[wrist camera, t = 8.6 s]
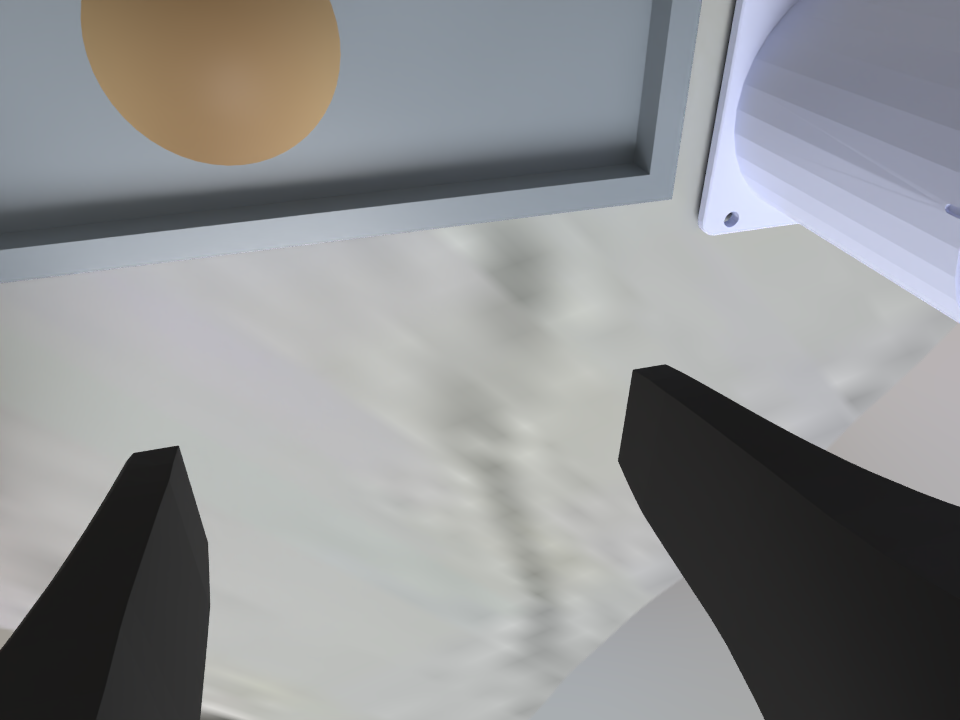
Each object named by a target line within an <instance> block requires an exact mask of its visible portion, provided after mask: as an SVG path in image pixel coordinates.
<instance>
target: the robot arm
mask: <svg viewBox="0 0 960 720" xmlns="http://www.w3.org/2000/svg"><path fill="white" fill-rule="evenodd" d="M731 212H732V215H731V218H730V219H729V220H728V221H726V222H724V220H725V217H726V216H727V215H728V214H729V213H731ZM798 223H799V224H801V225H802V226H804V227H806V228H807V229H809V230H810V231H812V232H814V233H815V234H817V235H818V236H820V237H822V238H823V239H825V240H826V241H828V242H830V243H831V244H833V245H835V246H836V247H838V248H839V249H841V250H843V251H844V252H846V253H847V254H849V255H851V256H852V257H854V258H855V259H857V260H859V261H860V262H862V263H863V264H865V265H867V266H868V267H870V268H871V269H873V270H875V271H876V272H878V273H879V274H881V275H883V276H884V277H886V278H888V279H889V280H891V281H892V282H894V283H896V284H897V285H899V286H900V287H902V288H904V289H905V290H907V291H908V292H910V293H912V294H913V295H915V296H916V297H918V298H920V299H921V300H923V301H924V302H926V303H928V304H929V305H931V306H932V307H934V308H936V309H937V310H939V311H941V312H942V313H944V314H945V315H947V316H949V317H950V318H952V319H953V320H955V321H957V322H958V323H960V0H737V1H736V6H735V12H734V18H733V23H732V29H731V35H730V40H729V46H728V52H727V57H726V63H725V69H724V74H723V80H722V86H721V91H720V97H719V103H718V108H717V114H716V120H715V125H714V131H713V137H712V142H711V148H710V154H709V159H708V165H707V171H706V176H705V182H704V188H703V193H702V199H701V205H700V210H699V216H698V225H699V227H700V229H701V230H703V231H704V232H705V233H707V234H708V235H720V234H727V233H734V232H741V231H748V230H755V229H762V228H770V227H777V226H784V225H791V224H798ZM618 462H619V464H620V467H621V469H622V471H623V473H624V475H625V478H626V480H627V482H628V484H629V487H630V489H631V491H632V493H633V495H634V497H635V499H636V501H637V503H638V505H639V507H640V509H641V511H642V513H643V514H644V516H645V518H646V519H647V521H648V523H649V524H650V526H651V527H652V529H653V530H654V532H655V533H656V535H657V537H658V538H659V540H660V541H661V543H662V544H663V546H664V548H665V549H666V551H667V552H668V554H669V555H670V557H671V558H672V560H673V561H674V563H675V564H676V566H677V567H678V569H679V570H680V572H681V574H682V575H683V577H684V578H685V580H686V581H687V583H688V584H689V586H690V587H691V589H692V590H693V592H694V593H695V595H696V596H697V598H698V599H699V601H700V602H701V604H702V606H703V607H704V609H705V610H706V612H707V613H708V614H709V616H710V618H711V619H712V621H713V623H714V624H715V626H716V628H717V629H718V631H719V633H720V634H721V636H722V638H723V639H724V641H725V643H726V645H727V646H728V648H729V650H730V652H731V654H732V656H733V658H734V660H735V662H736V664H737V666H738V667H739V669H740V671H741V673H742V675H743V677H744V679H745V681H746V683H747V685H748V687H749V689H750V691H751V693H752V694H753V696H754V698H755V700H756V702H757V705H758V707H759V709H760V711H761V713H762V715H763V717H764V719H765V720H960V507H959V506H956V505H953V504H950V503H947V502H944V501H942V500H939V499H936V498H934V497H931V496H928V495H926V494H923V493H920V492H917V491H915V490H913V489H910V488H908V487H906V486H903V485H901V484H899V483H896V482H894V481H891V480H889V479H887V478H884V477H882V476H879V475H877V474H875V473H872V472H870V471H868V470H866V469H863V468H861V467H859V466H857V465H855V464H852V463H850V462H848V461H846V460H844V459H842V458H840V457H838V456H836V455H834V454H832V453H830V452H828V451H826V450H824V449H822V448H820V447H818V446H815V445H813V444H811V443H809V442H807V441H806V440H804V439H802V438H800V437H798V436H796V435H794V434H792V433H790V432H788V431H786V430H785V429H783V428H781V427H779V426H777V425H775V424H773V423H772V422H770V421H768V420H766V419H764V418H763V417H761V416H759V415H757V414H755V413H754V412H752V411H750V410H748V409H746V408H745V407H743V406H741V405H739V404H738V403H736V402H734V401H732V400H731V399H729V398H727V397H725V396H723V395H722V394H720V393H718V392H716V391H715V390H713V389H711V388H709V387H708V386H706V385H704V384H702V383H700V382H699V381H697V380H695V379H693V378H691V377H690V376H688V375H686V374H684V373H682V372H680V371H678V370H676V369H674V368H672V367H670V366H668V365H666V364H665V365H659V366H653V367H647V368H641V369H635V370H633V372H632V378H631V385H630V391H629V397H628V403H627V409H626V415H625V421H624V428H623V434H622V440H621V446H620V452H619V458H618ZM209 613H210V584H209V557H208V541H207V538H206V535H205V531H204V528H203V525H202V521H201V518H200V515H199V511H198V508H197V505H196V501H195V498H194V495H193V492H192V488H191V485H190V482H189V478H188V475H187V472H186V468H185V465H184V462H183V458H182V455H181V452H180V448H179V446H173V447H167V448H161V449H155V450H149V451H143V452H137V453H133V454H132V455H131V457H130V458H129V459H128V460H127V461H126V463H125V465H124V467H123V468H122V470H121V472H120V474H119V475H118V477H117V479H116V480H115V482H114V484H113V486H112V487H111V489H110V491H109V492H108V494H107V496H106V497H105V499H104V501H103V502H102V504H101V506H100V507H99V509H98V511H97V512H96V514H95V515H94V517H93V519H92V520H91V522H90V523H89V525H88V527H87V528H86V530H85V531H84V533H83V534H82V536H81V538H80V539H79V541H78V542H77V544H76V545H75V547H74V548H73V550H72V551H71V553H70V554H69V556H68V557H67V559H66V560H65V562H64V563H63V565H62V566H61V568H60V569H59V571H58V572H57V574H56V575H55V577H54V578H53V580H52V581H51V582H50V584H49V585H48V587H47V588H46V589H45V591H44V592H43V594H42V595H41V596H40V598H39V599H38V600H37V602H36V603H35V604H34V606H33V607H32V608H31V610H30V611H29V613H28V614H27V615H26V617H25V618H24V619H23V621H22V622H21V623H20V625H19V626H18V628H17V629H16V630H15V632H14V633H13V634H12V636H11V637H10V638H9V640H8V641H7V642H6V644H5V645H4V646H3V647H2V649H1V650H0V720H200V714H201V703H202V692H203V681H204V671H205V660H206V648H207V637H208V626H209Z"/></svg>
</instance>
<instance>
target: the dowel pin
mask: <svg viewBox="0 0 960 720" xmlns="http://www.w3.org/2000/svg"><path fill="white" fill-rule="evenodd" d="M81 28H82V38H83V42H84V46H85V50H86V54H87V57H88V60H89V63H90V65H91V68H92V71H93V73H94V75H95V77H96V79H97V81H98V83H99V85H100V86H101V88H102V90H103V91H104V93H105V94H106V96H107V97H108V99H109V100H110V102H111V103H112V105H113V106H114V107H115V108H116V109H117V110H118V112H119V113H120V114H121V115H122V116H123V118H124V119H126V120H127V121H128V122H129V123H130V124H131V125H132V126H133V127H134V128H135V129H136V130H137V131H139V132H140V133H141V134H143V135H144V136H145V137H147V138H148V139H149V140H151V141H152V142H154V143H156V144H157V145H159V146H161V147H162V148H164V149H166V150H168V151H170V152H173V153H175V154H177V155H179V156H182V157H185V158H188V159H191V160H194V161H198V162H202V163H207V164H213V165H225V166H232V165H246V164H252V163H258V162H261V161H264V160H268V159H271V158H273V157H276V156H278V155H280V154H282V153H284V152H286V151H288V150H289V149H291V148H292V147H294V146H296V145H297V144H298V143H299V142H301V141H302V140H303V139H304V138H305V137H307V136H308V135H309V133H310V132H311V131H312V130H313V129H314V128H315V127H316V126H317V124H318V123H319V121H320V120H321V119H322V117H323V116H324V114H325V112H326V110H327V108H328V106H329V104H330V102H331V100H332V98H333V95H334V92H335V89H336V86H337V81H338V76H339V71H340V57H341V52H340V37H339V32H338V26H337V21H336V18H335V14H334V11H333V8H332V5H331V2H330V0H81Z"/></svg>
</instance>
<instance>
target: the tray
mask: <svg viewBox="0 0 960 720" xmlns="http://www.w3.org/2000/svg"><path fill="white" fill-rule="evenodd" d="M330 2H331V5H332V8H333V11H334V14H335V18H336V21H337V26H338V32H339V37H340V52H341V57H340V71H339V76H338V81H337V86H336V89H335V92H334V95H333V98H332V100H331V102H330V104H329V106H328V108H327V110H326V112H325V114H324V116H323V117H322V119H321V120H320V121H319V123H318V124H317V126H316V127H315V128H314V129H313V130H312V131H311V132H310V133H309V135H308V136H307V137H305V138H304V139H303V140H302V141H301V142H299V143H298V144H297V145H296V146H294V147H292V148H291V149H289V150H288V151H286V152H284V153H282V154H280V155H278V156H276V157H273V158H271V159H268V160H264V161H261V162H258V163H252V164H246V165H232V166H225V165H213V164H207V163H202V162H198V161H194V160H191V159H188V158H185V157H182V156H179V155H177V154H175V153H173V152H170V151H168V150H166V149H164V148H162V147H161V146H159V145H157V144H156V143H154V142H152V141H151V140H149V139H148V138H147V137H145V136H144V135H143V134H141V133H140V132H139V131H137V130H136V129H135V128H134V127H133V126H132V125H131V124H130V123H129V122H128V121H127V120H126V119H124V118H123V116H122V115H121V114H120V113H119V112H118V110H117V109H116V108H115V107H114V106H113V105H112V103H111V102H110V100H109V99H108V97H107V96H106V94H105V93H104V91H103V90H102V88H101V86H100V85H99V83H98V81H97V79H96V77H95V75H94V73H93V71H92V68H91V65H90V63H89V60H88V57H87V54H86V50H85V46H84V42H83V38H82V28H81V0H0V283H6V282H14V281H22V280H30V279H38V278H46V277H54V276H62V275H70V274H78V273H86V272H94V271H102V270H110V269H118V268H126V267H134V266H142V265H150V264H158V263H166V262H174V261H182V260H190V259H198V258H206V257H214V256H222V255H230V254H238V253H246V252H254V251H262V250H270V249H278V248H286V247H294V246H302V245H310V244H318V243H326V242H334V241H342V240H350V239H357V238H365V237H373V236H381V235H389V234H397V233H405V232H413V231H421V230H429V229H437V228H445V227H453V226H461V225H469V224H477V223H485V222H493V221H501V220H509V219H517V218H525V217H533V216H541V215H549V214H557V213H565V212H573V211H581V210H589V209H597V208H605V207H613V206H621V205H629V204H637V203H645V202H653V201H661V200H669V199H672V195H673V188H674V182H675V175H676V169H677V162H678V155H679V149H680V142H681V136H682V129H683V122H684V116H685V109H686V103H687V96H688V89H689V83H690V76H691V69H692V63H693V56H694V50H695V43H696V36H697V30H698V23H699V17H700V10H701V3H702V0H330Z"/></svg>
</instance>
